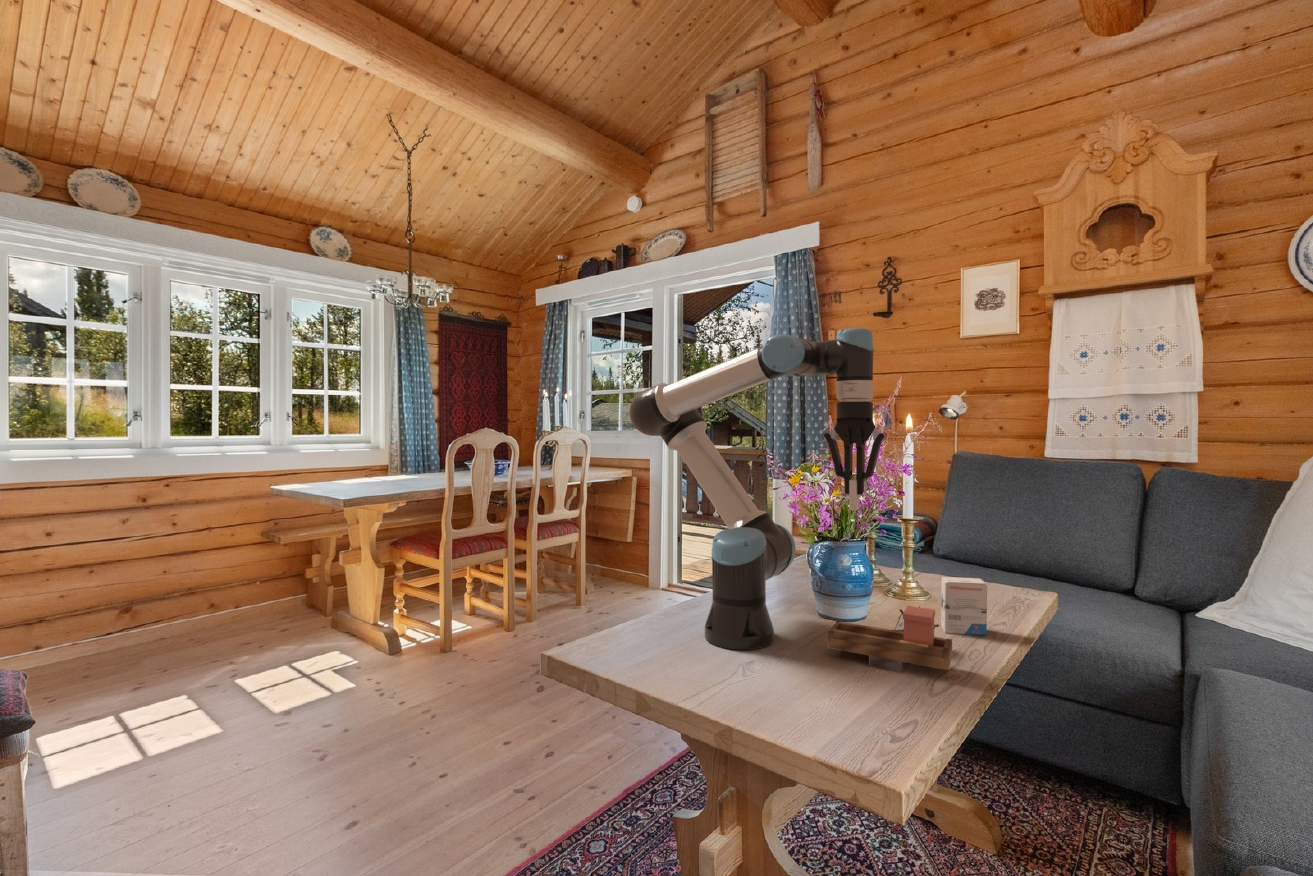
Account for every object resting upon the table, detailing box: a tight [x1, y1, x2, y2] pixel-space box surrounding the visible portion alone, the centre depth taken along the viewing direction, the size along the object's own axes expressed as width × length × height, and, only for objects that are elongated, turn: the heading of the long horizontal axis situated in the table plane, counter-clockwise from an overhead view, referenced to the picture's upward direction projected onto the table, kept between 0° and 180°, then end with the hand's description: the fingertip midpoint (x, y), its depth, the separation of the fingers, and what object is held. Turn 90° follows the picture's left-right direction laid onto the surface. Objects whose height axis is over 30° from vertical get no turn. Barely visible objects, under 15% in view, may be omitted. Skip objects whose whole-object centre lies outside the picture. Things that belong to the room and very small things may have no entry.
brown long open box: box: [827, 620, 953, 673], centre depth 120 cm, size 22×7×6 cm, turn 59°
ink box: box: [940, 576, 988, 636], centre depth 137 cm, size 9×5×12 cm, turn 76°
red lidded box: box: [903, 605, 936, 646], centre depth 117 cm, size 5×6×7 cm
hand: (854, 509), depth 133 cm, fingers closed
